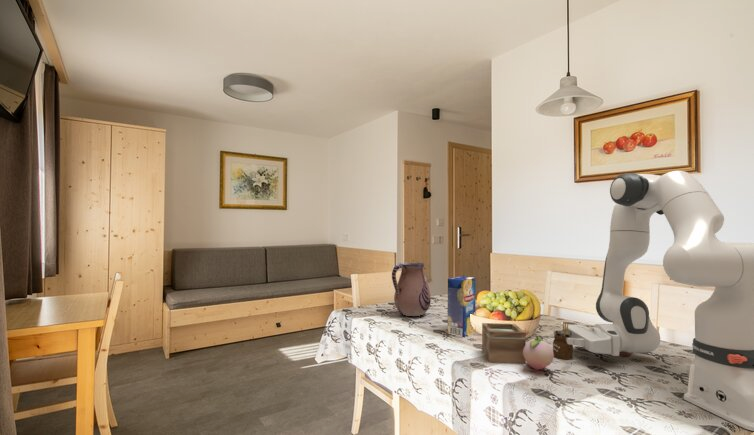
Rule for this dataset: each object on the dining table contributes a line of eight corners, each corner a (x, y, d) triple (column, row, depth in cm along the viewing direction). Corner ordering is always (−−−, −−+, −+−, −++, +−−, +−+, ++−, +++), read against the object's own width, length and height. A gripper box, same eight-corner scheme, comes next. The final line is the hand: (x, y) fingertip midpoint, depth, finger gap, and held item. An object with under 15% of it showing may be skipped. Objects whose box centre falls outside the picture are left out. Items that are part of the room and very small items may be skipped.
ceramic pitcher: (437, 315, 181) (438, 263, 181) (410, 323, 165) (411, 266, 166) (409, 309, 193) (409, 261, 193) (381, 316, 177) (382, 263, 178)
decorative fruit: (552, 378, 105) (552, 342, 105) (521, 372, 109) (521, 338, 109) (554, 367, 113) (554, 334, 113) (526, 362, 117) (525, 330, 117)
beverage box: (475, 331, 152) (475, 277, 153) (463, 337, 143) (463, 280, 144) (460, 328, 156) (460, 276, 157) (447, 334, 148) (447, 278, 148)
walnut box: (525, 363, 116) (525, 332, 117) (489, 362, 117) (489, 331, 117) (514, 351, 127) (514, 323, 128) (482, 350, 128) (482, 323, 128)
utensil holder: (569, 354, 126) (569, 318, 126) (576, 360, 119) (575, 322, 120) (550, 353, 127) (550, 317, 127) (556, 359, 120) (556, 322, 121)
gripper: (587, 320, 133) (547, 319, 134) (621, 337, 112) (574, 335, 113) (587, 338, 133) (548, 337, 133) (621, 358, 112) (574, 356, 113)
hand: (560, 336), depth 123 cm, fingers open, 8 cm apart
